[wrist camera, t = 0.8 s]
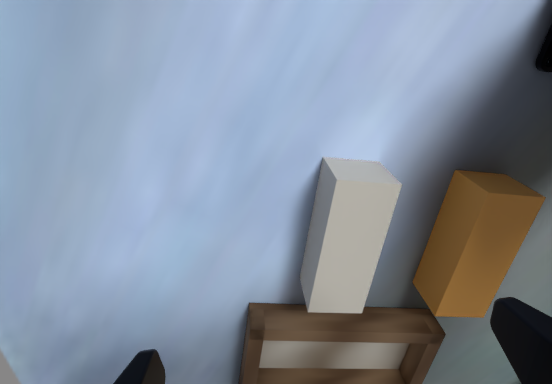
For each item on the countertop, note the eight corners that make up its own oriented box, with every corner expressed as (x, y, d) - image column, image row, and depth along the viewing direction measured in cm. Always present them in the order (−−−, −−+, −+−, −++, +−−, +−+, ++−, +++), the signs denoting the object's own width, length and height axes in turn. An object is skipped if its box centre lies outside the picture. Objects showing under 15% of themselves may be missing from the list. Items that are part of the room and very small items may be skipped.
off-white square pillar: (322, 155, 20) (336, 179, 17) (377, 160, 21) (402, 184, 18) (299, 274, 24) (307, 312, 21) (346, 276, 25) (361, 313, 22)
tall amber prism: (453, 168, 22) (488, 192, 19) (502, 172, 22) (545, 197, 19) (411, 280, 26) (434, 316, 22) (454, 281, 26) (483, 317, 23)
